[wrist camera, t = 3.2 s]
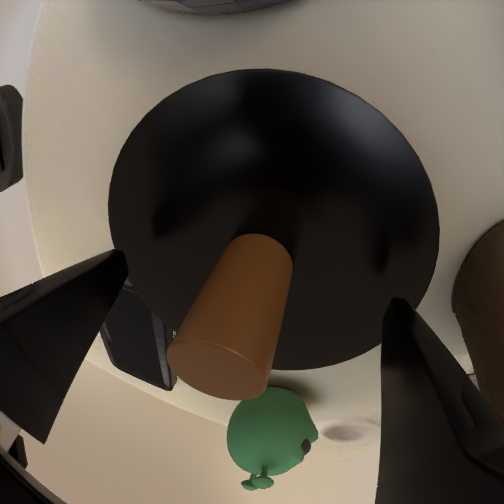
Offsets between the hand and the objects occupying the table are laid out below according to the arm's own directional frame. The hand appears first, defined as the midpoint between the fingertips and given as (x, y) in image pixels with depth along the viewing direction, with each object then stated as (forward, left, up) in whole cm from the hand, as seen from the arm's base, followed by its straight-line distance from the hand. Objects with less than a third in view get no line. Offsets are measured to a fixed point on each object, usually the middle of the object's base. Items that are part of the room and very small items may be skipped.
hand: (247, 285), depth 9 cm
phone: (-12, -14, -7) cm, 20 cm away
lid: (0, 0, -2) cm, 2 cm away
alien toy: (+2, -18, -7) cm, 19 cm away
